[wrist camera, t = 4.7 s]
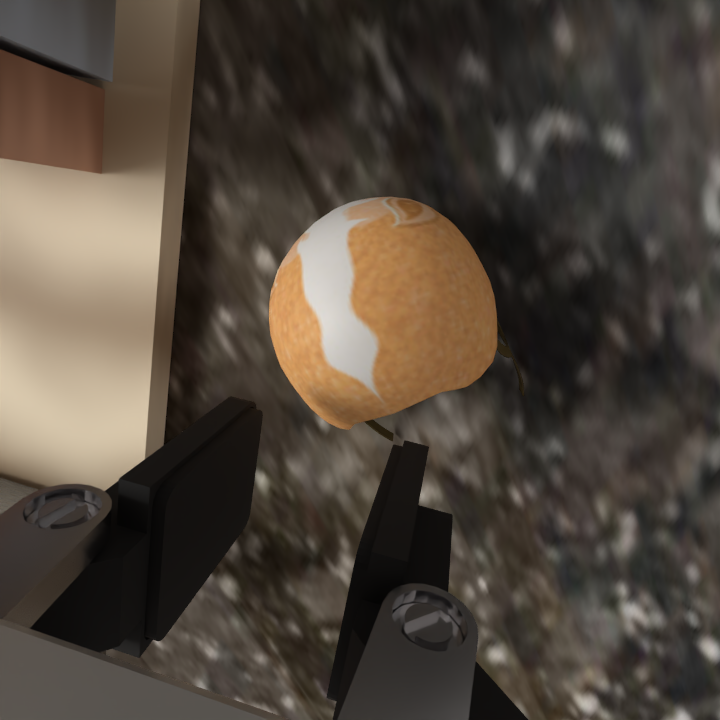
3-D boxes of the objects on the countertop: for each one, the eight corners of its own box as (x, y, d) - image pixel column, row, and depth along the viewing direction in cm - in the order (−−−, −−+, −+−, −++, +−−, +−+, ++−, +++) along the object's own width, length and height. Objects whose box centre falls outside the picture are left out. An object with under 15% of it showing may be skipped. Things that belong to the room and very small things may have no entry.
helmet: (513, 307, 18) (419, 107, 13) (572, 472, 14) (464, 265, 9) (371, 364, 20) (242, 210, 15) (382, 525, 16) (202, 383, 11)
